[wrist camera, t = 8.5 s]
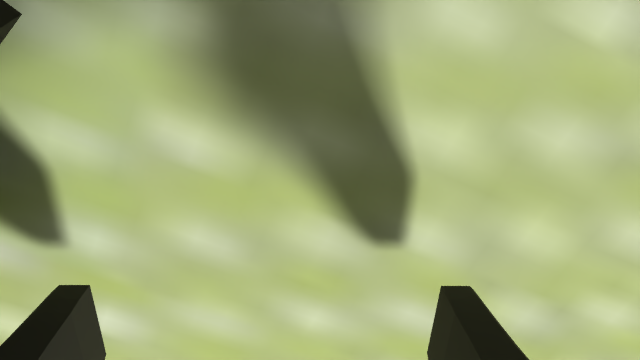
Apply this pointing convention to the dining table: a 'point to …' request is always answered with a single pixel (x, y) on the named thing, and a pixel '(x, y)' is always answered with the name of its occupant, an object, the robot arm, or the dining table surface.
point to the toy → (7, 18)
